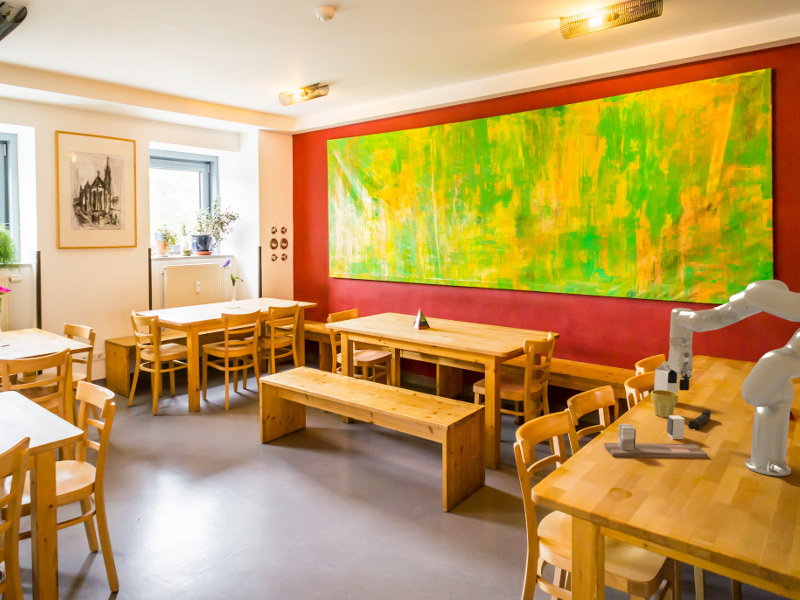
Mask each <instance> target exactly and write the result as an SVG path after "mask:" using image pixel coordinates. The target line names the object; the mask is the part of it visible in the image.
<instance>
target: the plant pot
mask: <svg viewBox="0 0 800 600" xmlns="http://www.w3.org/2000/svg"><path fill="white" fill-rule="evenodd" d="M650 400H651V401H652V404H653V405H652V406H653V410H654V414H656V415H655V416H657V415H658V416H657V417H660V416H662V417H661V418H667V417H669V415H674V412H675V411H674V410H675V408H676V404H678V403H677V402H679V393H678V394H677V393H675V392H672V391H667V390H652V391H651V392H650Z"/></svg>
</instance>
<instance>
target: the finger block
mask: <svg viewBox="0 0 800 600" xmlns="http://www.w3.org/2000/svg"><path fill="white" fill-rule="evenodd" d="M666 422H667V425H666V433H667V436H668V437H669V436H670V437H671V438H672V439H671V438H670V437H669V438H670V439H671V440H673V439H683V440H684V435H685V434H684V433H685V417H682V415H676V414H675V415H674V414H673V415H669V417H668V418H667V421H666Z"/></svg>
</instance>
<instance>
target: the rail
mask: <svg viewBox="0 0 800 600" xmlns="http://www.w3.org/2000/svg"><path fill="white" fill-rule="evenodd" d="M636 432H637V431H636V428H635V426H633V424H631V423H618V437H617V438H618V440H617V441H618V442H604V443H603V444H604V445H603V446H604V448H605V449H606V451H607V452H608V453H609V454H610V456H611V457H614V458H615V457H617V458H680V459H681V458H686V459H687V458H688V459H689V458H691V459H692V458H693V459H694V458H695V459H696V458H697V459H703V458H704V459H707V458H708V452H707V451H705V450H704V449H702V448H700V446H698V445H696V443H651V442H650V443H639V442H638V443H637V442H636V437H637V435H636V434H637V433H636Z"/></svg>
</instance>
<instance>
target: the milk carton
mask: <svg viewBox="0 0 800 600" xmlns="http://www.w3.org/2000/svg"><path fill="white" fill-rule="evenodd" d="M654 371H655V372H654V386H653V387H654V388H653V389H654V390H667V391H672V392H675V393H677V394H678V395H679V386H680V373H677V372H676V373H677V383H668V361H663V362H661V364H660V365H659V366H658V367H657V368H655V370H654ZM678 402H679V401H678ZM678 402H677V403H676V404H678Z"/></svg>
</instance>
